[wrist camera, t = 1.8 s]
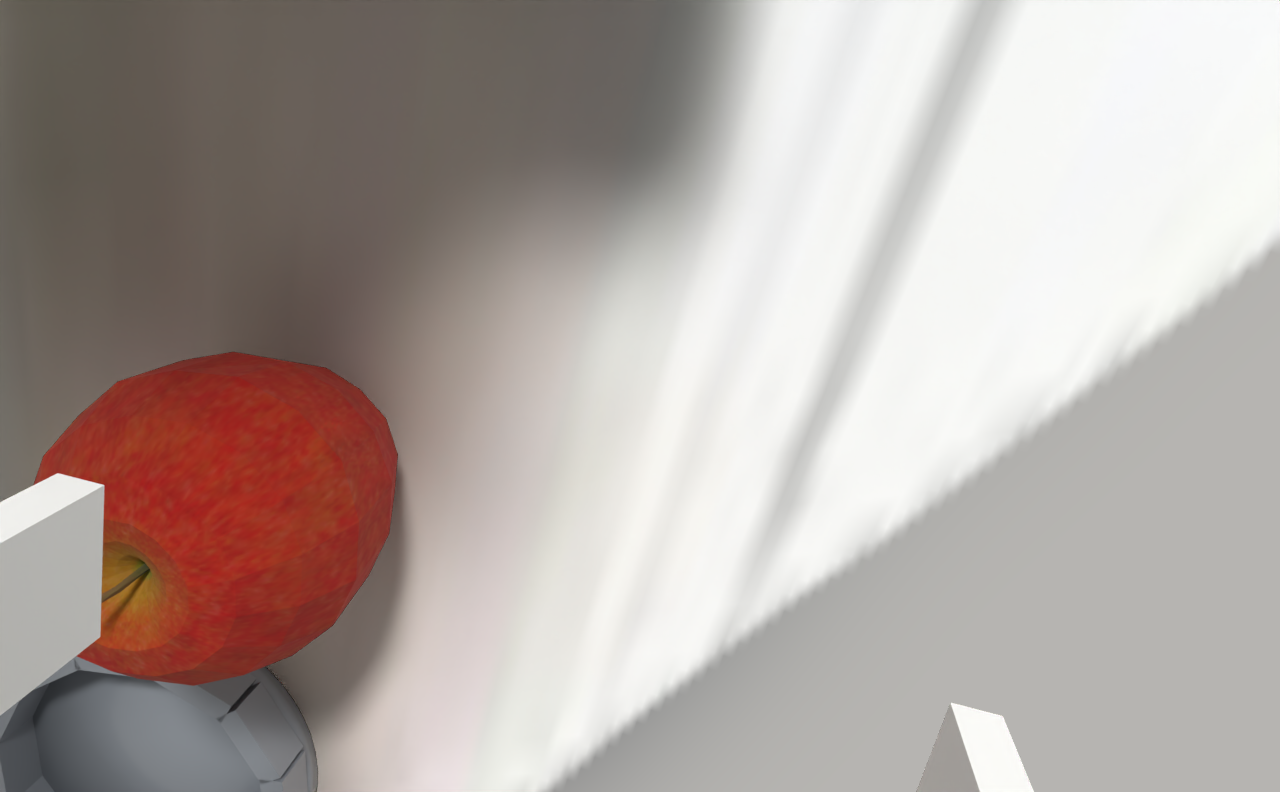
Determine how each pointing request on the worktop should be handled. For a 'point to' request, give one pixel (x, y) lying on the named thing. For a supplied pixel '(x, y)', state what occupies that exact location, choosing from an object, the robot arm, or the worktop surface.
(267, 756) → the grey shallow round dish
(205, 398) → the apple
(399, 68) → the worktop surface
